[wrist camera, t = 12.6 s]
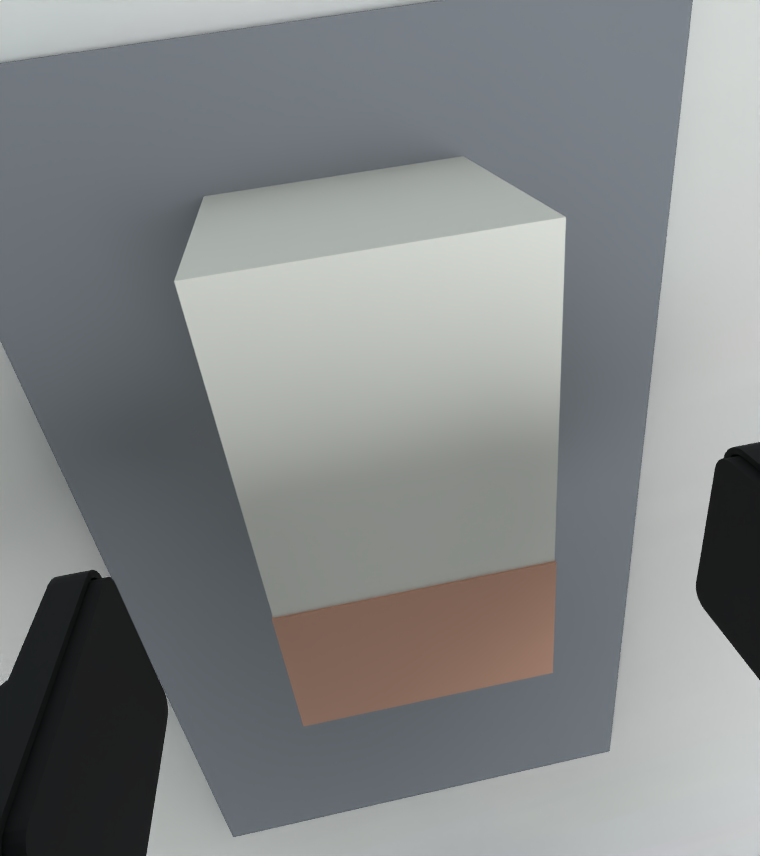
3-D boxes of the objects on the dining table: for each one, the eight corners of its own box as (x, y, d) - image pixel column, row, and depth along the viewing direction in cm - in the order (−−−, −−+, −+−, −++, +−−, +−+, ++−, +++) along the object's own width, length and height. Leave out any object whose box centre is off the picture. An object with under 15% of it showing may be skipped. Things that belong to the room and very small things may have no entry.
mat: (604, 741, 25) (609, 750, 24) (233, 825, 24) (233, 837, 23) (684, -35, 12) (696, -37, 12) (-110, 79, 11) (-122, 80, 11)
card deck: (463, 156, 13) (569, 217, 8) (480, 515, 17) (552, 672, 13) (202, 196, 12) (172, 282, 8) (292, 552, 17) (303, 726, 13)
